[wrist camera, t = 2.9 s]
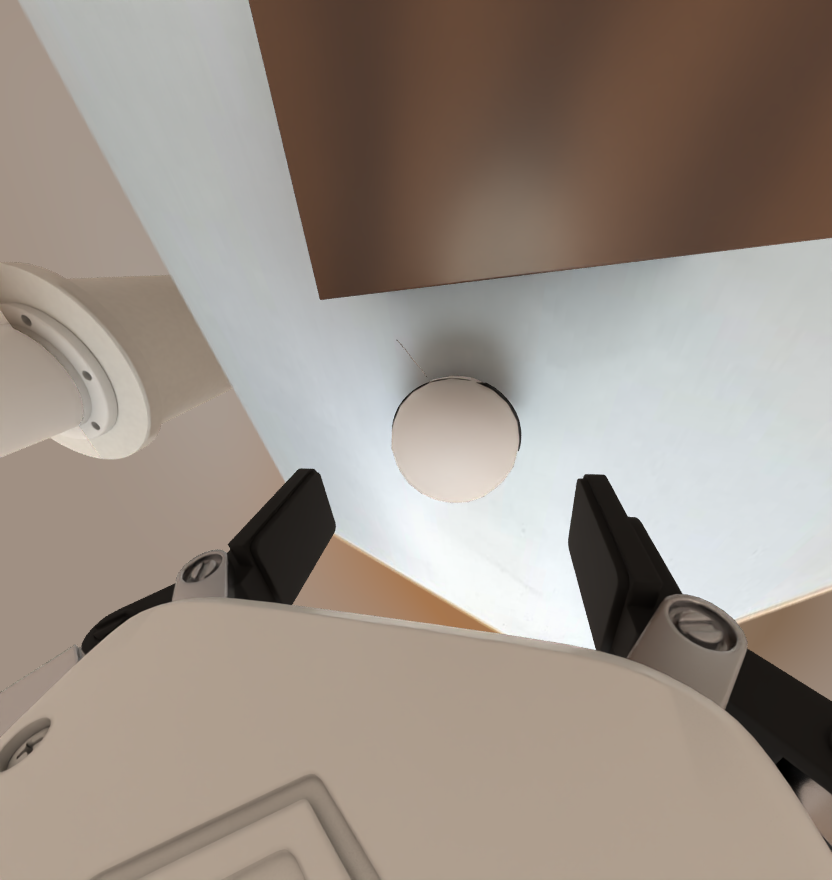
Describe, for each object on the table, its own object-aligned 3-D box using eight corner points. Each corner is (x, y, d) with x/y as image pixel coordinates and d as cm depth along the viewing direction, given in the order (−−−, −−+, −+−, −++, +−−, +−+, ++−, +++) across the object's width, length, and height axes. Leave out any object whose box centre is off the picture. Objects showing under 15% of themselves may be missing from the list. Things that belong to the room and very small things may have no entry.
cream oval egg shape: (525, 448, 22) (540, 523, 16) (424, 466, 24) (403, 537, 18) (493, 299, 18) (497, 318, 12) (376, 338, 20) (327, 372, 14)
